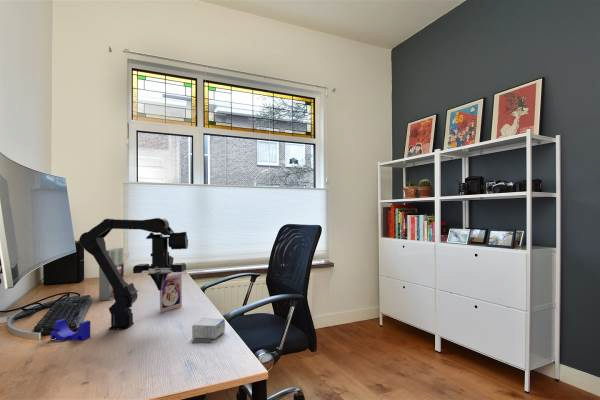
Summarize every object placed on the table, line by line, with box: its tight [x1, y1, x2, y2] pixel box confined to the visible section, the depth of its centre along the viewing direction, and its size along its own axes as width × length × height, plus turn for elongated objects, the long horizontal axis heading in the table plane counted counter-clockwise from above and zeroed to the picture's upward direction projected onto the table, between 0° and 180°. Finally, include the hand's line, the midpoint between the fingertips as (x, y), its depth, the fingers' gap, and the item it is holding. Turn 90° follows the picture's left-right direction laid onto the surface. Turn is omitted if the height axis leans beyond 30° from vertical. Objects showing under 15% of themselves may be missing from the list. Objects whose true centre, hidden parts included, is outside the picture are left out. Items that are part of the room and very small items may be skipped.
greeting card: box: [159, 272, 183, 313], centre depth 152 cm, size 11×7×15 cm, turn 148°
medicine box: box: [191, 317, 226, 340], centre depth 117 cm, size 8×4×9 cm
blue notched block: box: [50, 318, 91, 342], centre depth 116 cm, size 12×4×6 cm, turn 77°
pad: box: [191, 338, 213, 344], centre depth 117 cm, size 6×14×1 cm, turn 0°
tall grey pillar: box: [98, 247, 125, 301], centre depth 176 cm, size 14×6×25 cm, turn 179°
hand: (160, 290), depth 130 cm, fingers closed
